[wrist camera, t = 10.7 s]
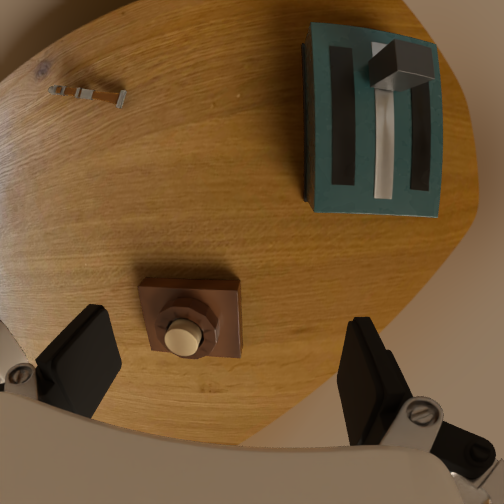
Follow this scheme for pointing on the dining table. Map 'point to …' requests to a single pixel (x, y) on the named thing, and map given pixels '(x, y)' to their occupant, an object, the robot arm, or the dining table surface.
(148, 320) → the control block
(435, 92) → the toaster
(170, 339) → the button
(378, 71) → the slider
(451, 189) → the dining table surface
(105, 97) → the wooden post with brackets
